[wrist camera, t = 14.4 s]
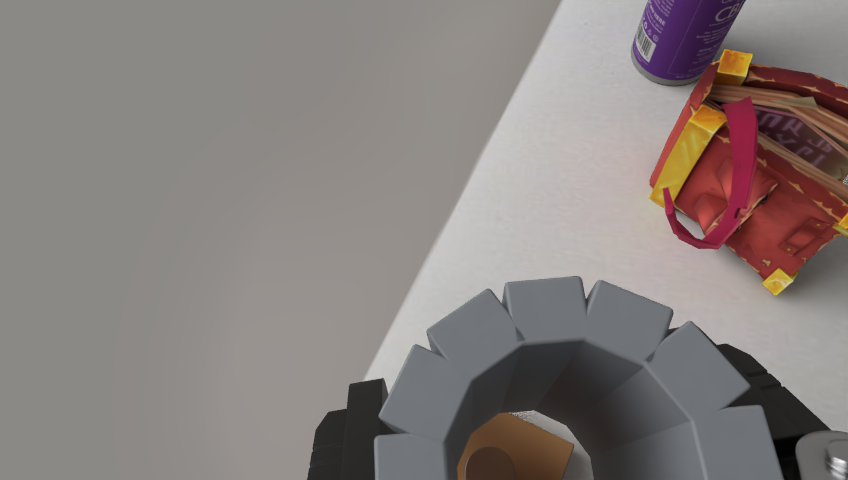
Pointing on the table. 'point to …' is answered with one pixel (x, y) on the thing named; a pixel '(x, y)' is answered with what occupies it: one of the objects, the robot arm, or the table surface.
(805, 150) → the book monster
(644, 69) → the container
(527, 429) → the peg rack
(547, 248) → the table surface
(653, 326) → the grooved hollow cylinder
